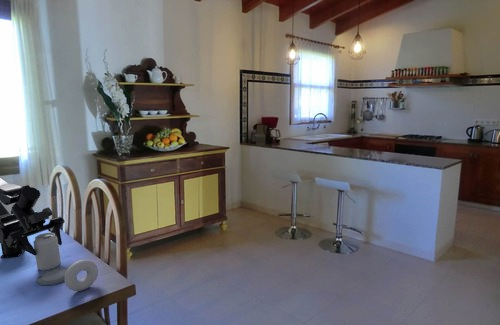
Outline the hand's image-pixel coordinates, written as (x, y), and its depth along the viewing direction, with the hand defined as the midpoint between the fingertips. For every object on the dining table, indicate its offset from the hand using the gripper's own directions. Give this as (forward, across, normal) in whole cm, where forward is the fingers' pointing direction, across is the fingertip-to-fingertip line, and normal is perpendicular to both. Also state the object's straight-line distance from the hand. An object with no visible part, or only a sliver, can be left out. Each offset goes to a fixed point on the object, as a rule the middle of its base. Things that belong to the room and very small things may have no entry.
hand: (49, 249), depth 123 cm
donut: (+22, -4, -12) cm, 25 cm away
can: (+4, 0, +6) cm, 7 cm away
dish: (+11, -4, -1) cm, 11 cm away
